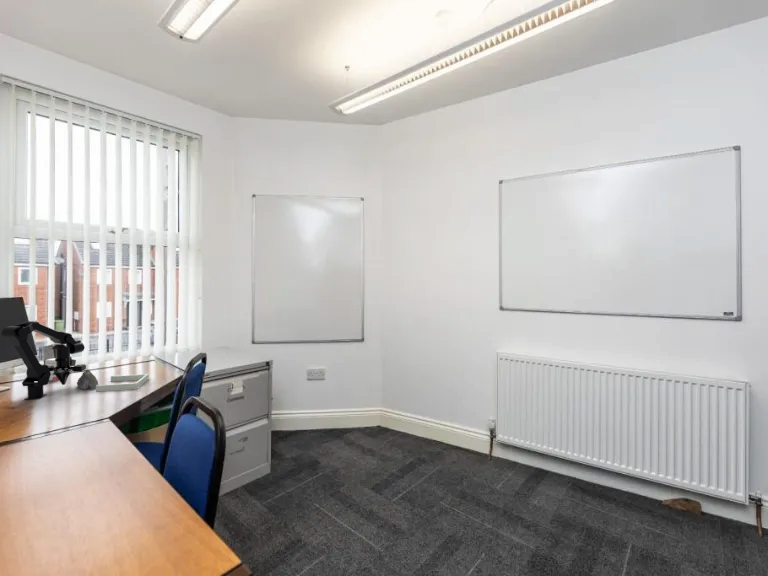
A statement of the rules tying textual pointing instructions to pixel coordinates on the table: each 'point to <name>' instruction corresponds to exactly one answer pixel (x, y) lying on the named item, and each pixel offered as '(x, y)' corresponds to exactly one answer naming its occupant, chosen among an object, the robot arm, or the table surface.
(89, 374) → the mineral rock
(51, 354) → the coffee box
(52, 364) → the ink box
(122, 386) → the pale grey u-shaped frame
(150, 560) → the table surface
